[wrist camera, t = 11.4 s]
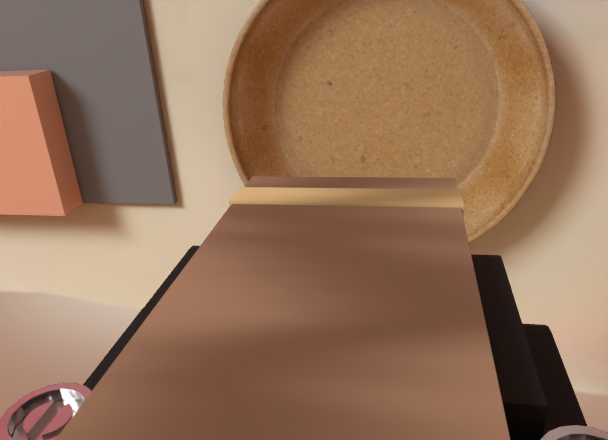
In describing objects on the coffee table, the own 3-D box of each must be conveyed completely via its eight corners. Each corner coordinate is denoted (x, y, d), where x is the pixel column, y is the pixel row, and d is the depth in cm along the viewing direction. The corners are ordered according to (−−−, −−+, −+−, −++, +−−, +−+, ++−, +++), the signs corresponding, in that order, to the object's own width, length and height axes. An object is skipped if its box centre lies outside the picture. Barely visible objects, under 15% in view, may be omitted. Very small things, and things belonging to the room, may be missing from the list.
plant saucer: (515, 253, 29) (524, 278, 26) (245, 233, 31) (232, 254, 29) (571, -62, 22) (590, -65, 20) (229, -57, 25) (210, -59, 23)
